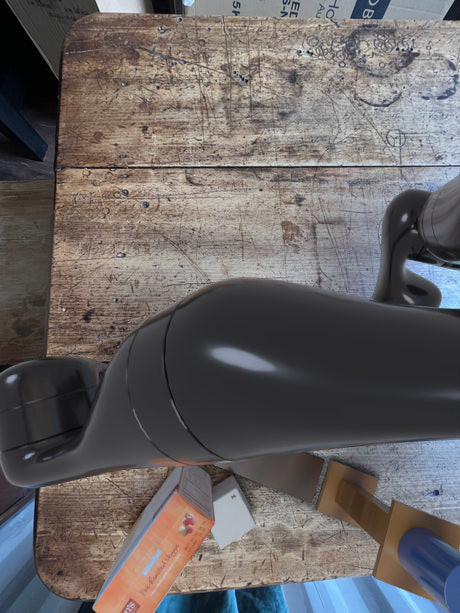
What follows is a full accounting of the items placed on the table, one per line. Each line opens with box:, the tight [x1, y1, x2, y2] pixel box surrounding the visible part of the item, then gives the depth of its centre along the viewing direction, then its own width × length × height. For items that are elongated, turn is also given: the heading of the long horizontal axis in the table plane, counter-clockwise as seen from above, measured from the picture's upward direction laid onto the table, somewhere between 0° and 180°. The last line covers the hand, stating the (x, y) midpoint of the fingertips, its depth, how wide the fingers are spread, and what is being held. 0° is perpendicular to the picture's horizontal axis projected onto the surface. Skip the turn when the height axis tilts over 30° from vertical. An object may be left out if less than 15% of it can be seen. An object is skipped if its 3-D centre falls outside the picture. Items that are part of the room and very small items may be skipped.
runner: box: [211, 452, 325, 504], centre depth 61 cm, size 18×7×1 cm, turn 69°
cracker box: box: [92, 466, 215, 613], centre depth 49 cm, size 14×6×21 cm, turn 143°
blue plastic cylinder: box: [398, 528, 460, 613], centre depth 36 cm, size 5×5×8 cm
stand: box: [315, 459, 460, 605], centre depth 51 cm, size 8×8×22 cm
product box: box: [210, 475, 257, 550], centre depth 57 cm, size 6×6×7 cm
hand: (344, 435), depth 57 cm, fingers closed on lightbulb, 6 cm apart
